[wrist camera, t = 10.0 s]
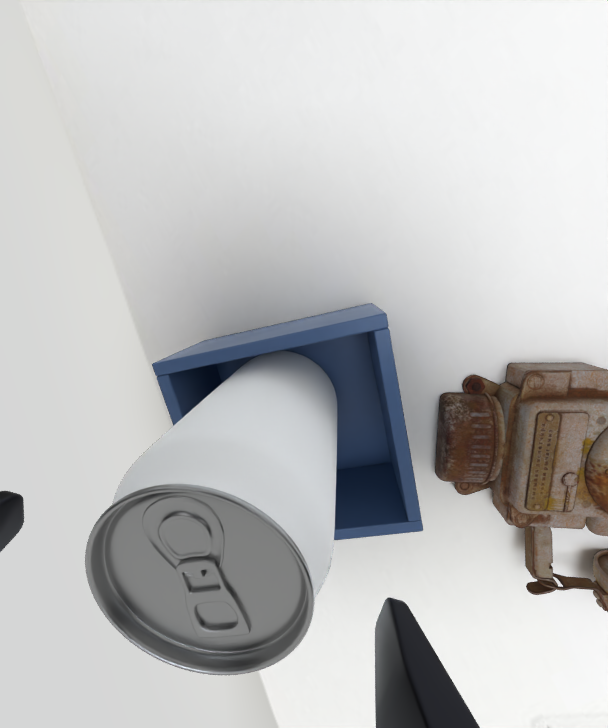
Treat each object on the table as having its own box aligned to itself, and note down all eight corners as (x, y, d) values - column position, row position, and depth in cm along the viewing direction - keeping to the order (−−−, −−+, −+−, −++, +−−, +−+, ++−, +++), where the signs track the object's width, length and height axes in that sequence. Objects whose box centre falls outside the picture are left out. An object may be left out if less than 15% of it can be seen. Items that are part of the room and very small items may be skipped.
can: (322, 337, 18) (289, 444, 6) (348, 439, 19) (361, 682, 8) (217, 362, 19) (21, 494, 7) (249, 457, 20) (128, 694, 9)
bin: (203, 340, 19) (150, 364, 14) (372, 302, 17) (386, 312, 12) (248, 485, 21) (218, 552, 16) (401, 464, 20) (423, 531, 14)
